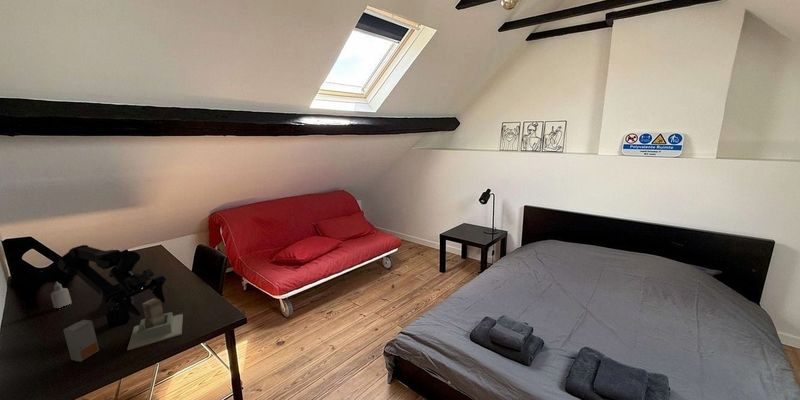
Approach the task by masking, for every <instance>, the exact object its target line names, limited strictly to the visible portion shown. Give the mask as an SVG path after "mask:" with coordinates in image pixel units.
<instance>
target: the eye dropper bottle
mask: <svg viewBox="0 0 800 400" xmlns="http://www.w3.org/2000/svg"><path fill="white" fill-rule="evenodd" d="M50 299H51V302H52V306H53V309H54V308H61V307H63V306H66V305H69V304H70V305H72V304H73V302H72V298H71V294H70V291H69V289H68V288H66V287H63V286H62V284H61V283H59V282H58V281H56V282H55V283H54V285H53V291H52V292H51V293H50ZM70 305H69V306H70Z"/></svg>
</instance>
